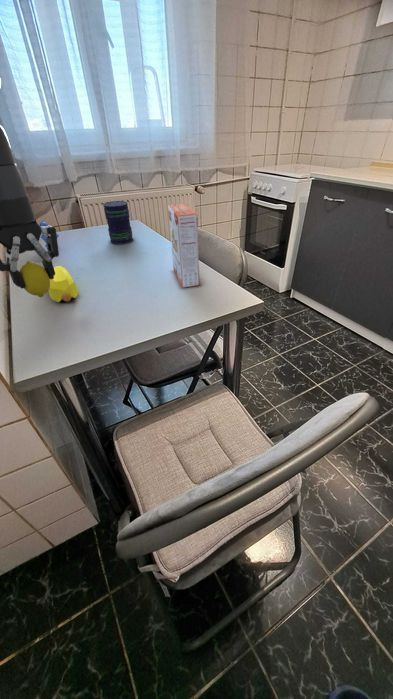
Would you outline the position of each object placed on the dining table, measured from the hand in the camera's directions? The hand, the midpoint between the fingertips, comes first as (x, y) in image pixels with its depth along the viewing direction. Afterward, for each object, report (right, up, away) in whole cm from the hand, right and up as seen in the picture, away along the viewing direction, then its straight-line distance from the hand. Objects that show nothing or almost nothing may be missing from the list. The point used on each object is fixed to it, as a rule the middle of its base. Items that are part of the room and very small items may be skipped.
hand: (36, 282), depth 63 cm
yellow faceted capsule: (-6, +3, +26) cm, 27 cm away
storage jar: (+2, +33, +66) cm, 74 cm away
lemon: (0, -3, +3) cm, 4 cm away
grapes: (-24, +25, +57) cm, 67 cm away
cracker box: (+31, +8, +32) cm, 45 cm away
